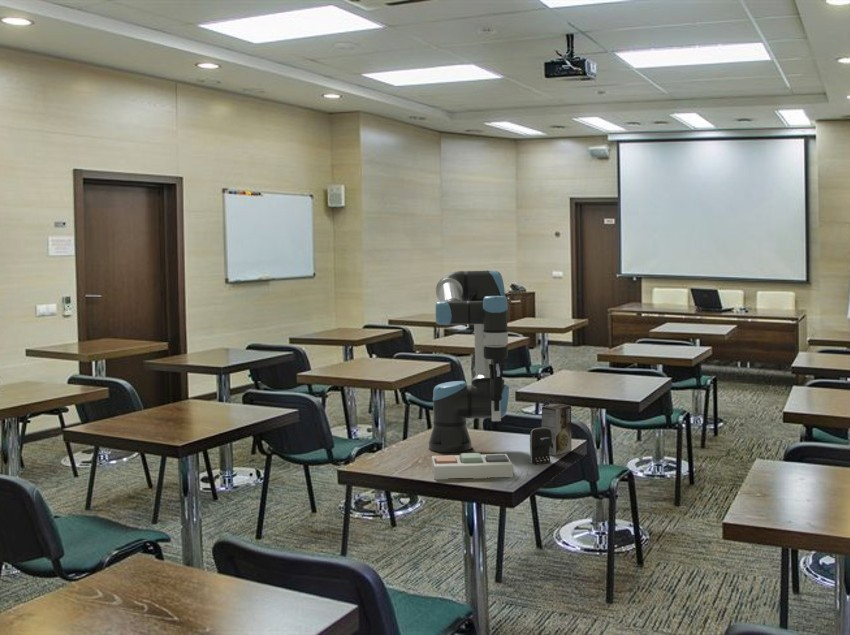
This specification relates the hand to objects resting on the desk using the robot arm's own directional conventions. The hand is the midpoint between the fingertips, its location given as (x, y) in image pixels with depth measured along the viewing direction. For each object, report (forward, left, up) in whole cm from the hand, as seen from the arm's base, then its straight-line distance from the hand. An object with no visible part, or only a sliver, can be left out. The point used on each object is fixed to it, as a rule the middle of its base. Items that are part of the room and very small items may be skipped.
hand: (496, 420), depth 266 cm
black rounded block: (-10, +16, -17) cm, 25 cm away
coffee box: (-25, +24, -17) cm, 38 cm away
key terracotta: (0, -16, -15) cm, 22 cm away
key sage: (0, -8, -14) cm, 16 cm away
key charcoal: (0, 0, -15) cm, 15 cm away
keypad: (0, -8, -16) cm, 18 cm away
